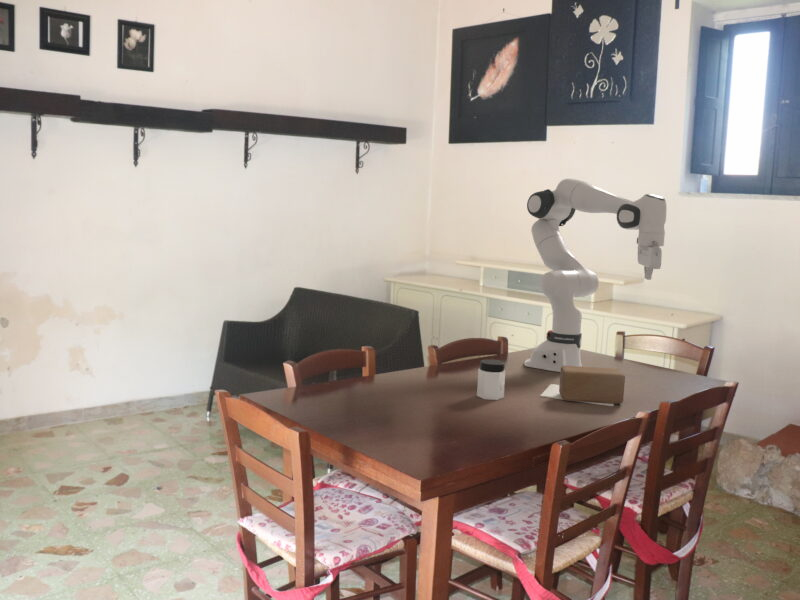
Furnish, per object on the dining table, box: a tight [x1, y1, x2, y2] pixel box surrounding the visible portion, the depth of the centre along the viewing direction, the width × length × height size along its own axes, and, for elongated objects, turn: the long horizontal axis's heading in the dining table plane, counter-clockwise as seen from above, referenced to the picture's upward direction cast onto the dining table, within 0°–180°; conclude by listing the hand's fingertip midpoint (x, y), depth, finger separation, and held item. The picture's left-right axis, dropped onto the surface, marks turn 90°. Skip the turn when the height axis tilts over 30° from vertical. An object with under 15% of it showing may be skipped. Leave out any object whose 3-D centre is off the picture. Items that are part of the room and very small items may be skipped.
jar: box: [476, 358, 506, 401], centre depth 267 cm, size 9×8×12 cm
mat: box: [540, 383, 615, 407], centre depth 275 cm, size 24×18×1 cm
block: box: [558, 366, 626, 405], centre depth 268 cm, size 10×10×20 cm
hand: (647, 279), depth 286 cm, fingers closed
